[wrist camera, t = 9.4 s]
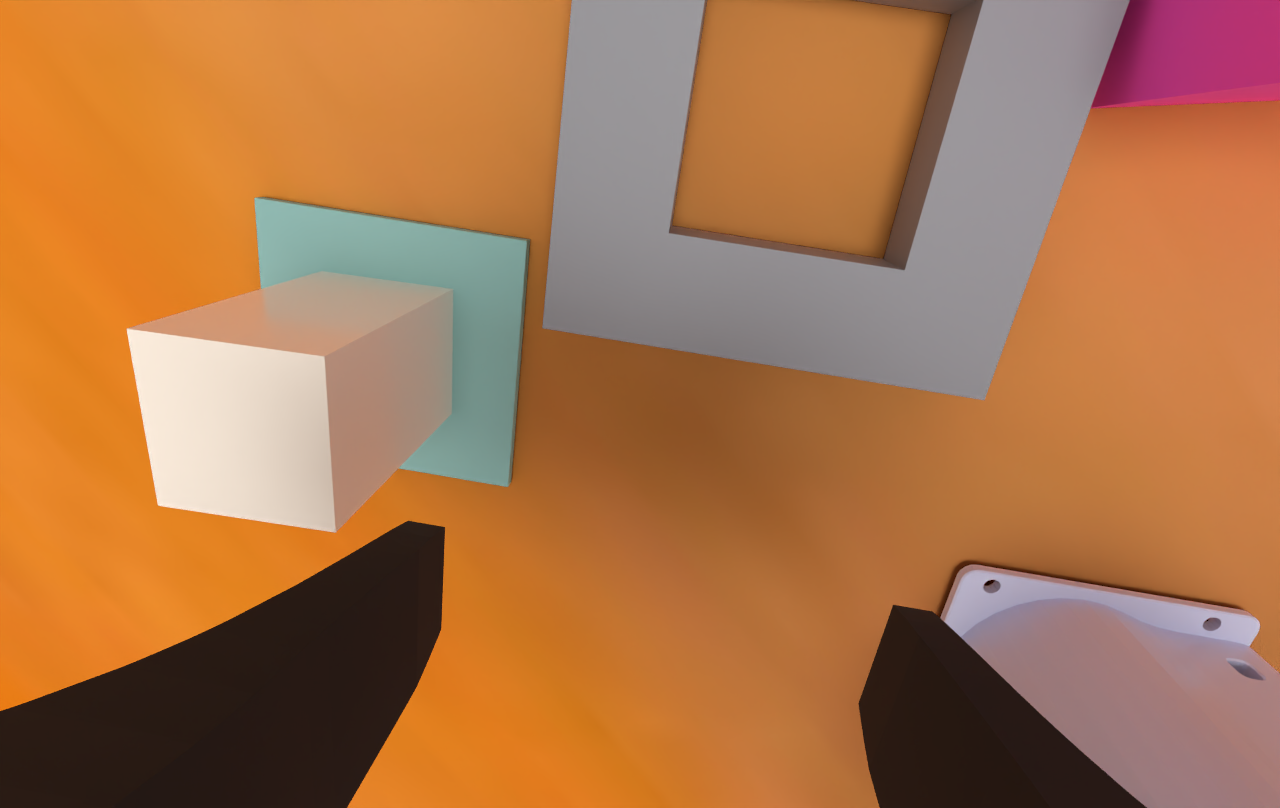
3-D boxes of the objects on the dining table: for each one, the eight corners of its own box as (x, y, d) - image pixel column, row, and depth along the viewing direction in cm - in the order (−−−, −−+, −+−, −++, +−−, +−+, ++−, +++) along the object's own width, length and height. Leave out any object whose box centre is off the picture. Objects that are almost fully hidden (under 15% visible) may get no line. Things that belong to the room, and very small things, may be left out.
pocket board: (1125, -117, 15) (1187, -157, 13) (956, 376, 19) (983, 400, 17) (606, -189, 15) (593, -238, 13) (557, 311, 19) (542, 327, 18)
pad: (530, 239, 19) (526, 241, 18) (511, 481, 22) (507, 487, 21) (263, 197, 19) (254, 197, 19) (279, 441, 22) (272, 446, 21)
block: (453, 288, 19) (324, 357, 12) (451, 413, 20) (335, 532, 14) (321, 270, 19) (126, 328, 13) (329, 396, 21) (157, 505, 14)
